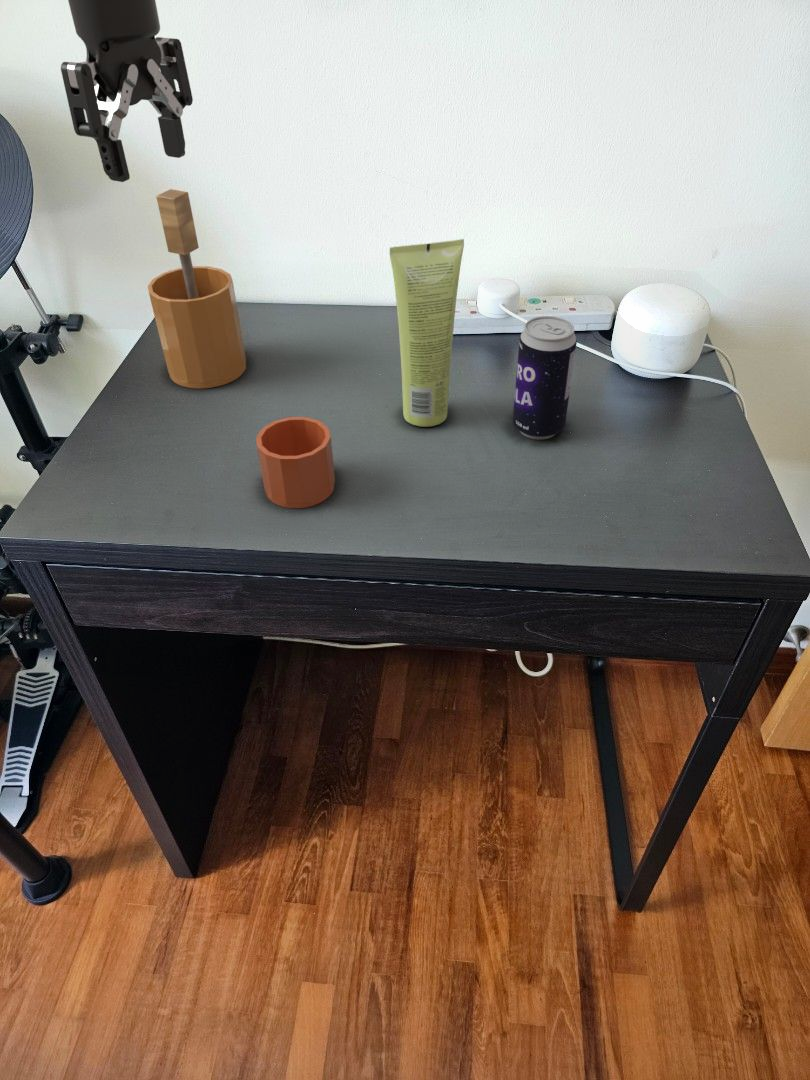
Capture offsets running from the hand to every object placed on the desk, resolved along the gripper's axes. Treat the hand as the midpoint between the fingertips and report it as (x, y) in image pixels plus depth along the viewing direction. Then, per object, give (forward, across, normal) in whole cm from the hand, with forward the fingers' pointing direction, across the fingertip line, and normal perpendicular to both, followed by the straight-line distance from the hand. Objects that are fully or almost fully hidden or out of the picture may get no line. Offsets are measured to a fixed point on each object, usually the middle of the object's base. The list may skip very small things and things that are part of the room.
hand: (148, 167), depth 81 cm
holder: (+24, +13, +24) cm, 36 cm away
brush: (+23, -2, +1) cm, 23 cm away
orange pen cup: (+24, -2, +1) cm, 24 cm away
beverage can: (+24, -7, +42) cm, 49 cm away
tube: (+24, -4, +30) cm, 38 cm away
